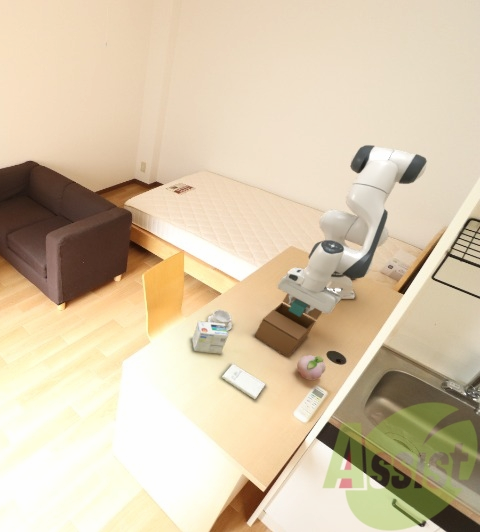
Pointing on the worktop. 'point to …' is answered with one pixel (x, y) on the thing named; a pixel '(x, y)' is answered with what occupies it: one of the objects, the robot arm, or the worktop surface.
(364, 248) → the robot arm
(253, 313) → the worktop surface
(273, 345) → the carton
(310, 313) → the flap
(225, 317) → the teacup
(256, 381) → the hard drive
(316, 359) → the decorative fruit
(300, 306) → the block
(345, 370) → the worktop surface
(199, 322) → the light bulb box
